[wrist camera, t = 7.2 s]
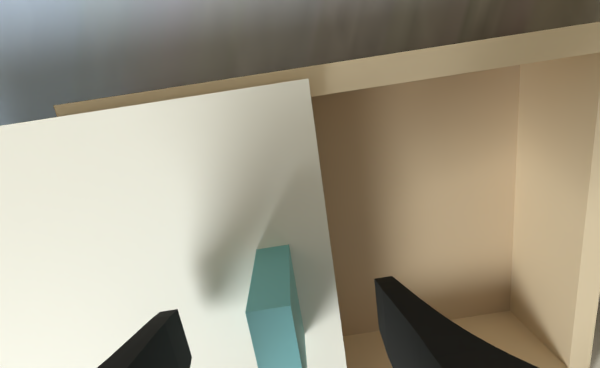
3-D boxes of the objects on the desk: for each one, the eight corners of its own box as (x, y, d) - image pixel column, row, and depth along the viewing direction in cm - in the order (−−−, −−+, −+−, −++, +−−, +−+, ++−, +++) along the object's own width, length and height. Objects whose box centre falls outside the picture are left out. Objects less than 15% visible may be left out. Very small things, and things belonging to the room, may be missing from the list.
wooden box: (516, 313, 20) (587, 382, 16) (199, 362, 20) (173, 446, 16) (530, 37, 16) (636, 16, 11) (123, 100, 16) (53, 105, 11)
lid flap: (352, 418, 15) (376, 533, 11) (-57, 481, 15) (-175, 619, 11) (306, 79, 11) (319, 73, 7) (-264, 166, 11) (-573, 210, 7)
